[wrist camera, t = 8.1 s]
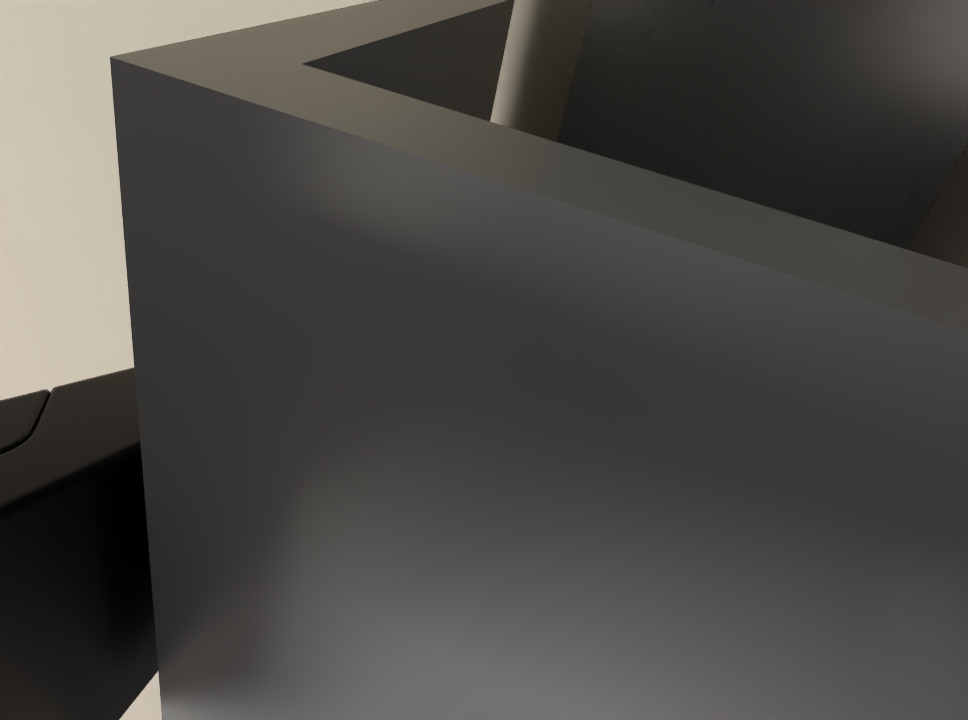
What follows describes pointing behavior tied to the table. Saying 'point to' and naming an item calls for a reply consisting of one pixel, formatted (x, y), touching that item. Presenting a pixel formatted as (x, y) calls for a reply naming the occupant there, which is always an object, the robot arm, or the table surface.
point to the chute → (517, 407)
